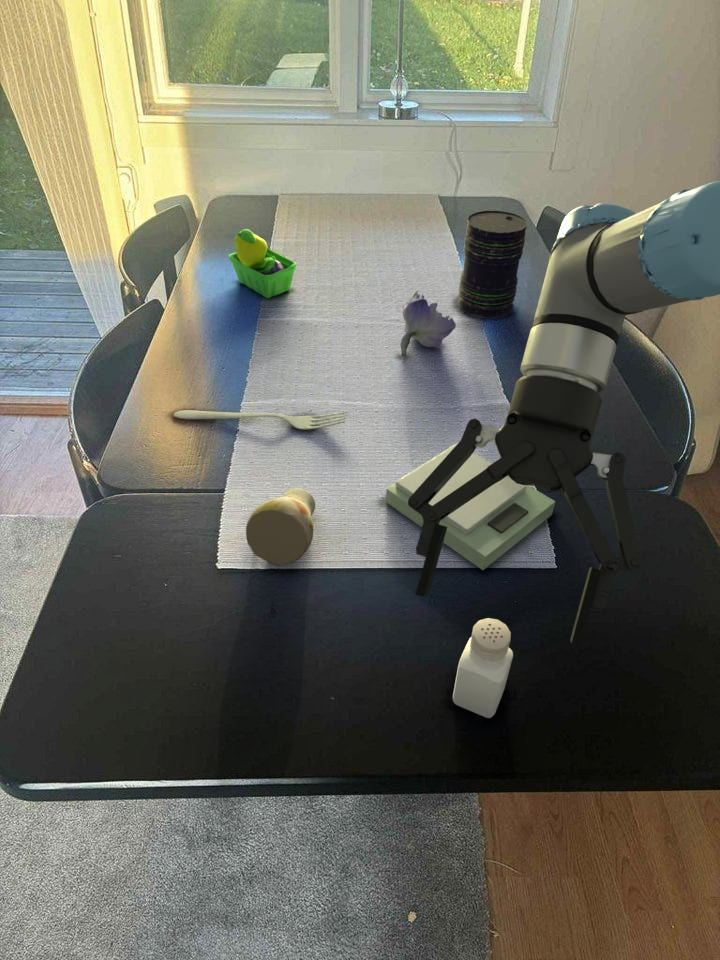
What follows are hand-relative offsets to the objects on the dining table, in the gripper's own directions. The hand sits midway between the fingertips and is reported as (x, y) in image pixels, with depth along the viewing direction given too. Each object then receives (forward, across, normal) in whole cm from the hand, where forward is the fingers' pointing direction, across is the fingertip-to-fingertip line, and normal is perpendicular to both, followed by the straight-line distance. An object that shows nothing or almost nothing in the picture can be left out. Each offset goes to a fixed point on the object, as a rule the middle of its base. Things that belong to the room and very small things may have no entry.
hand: (496, 618), depth 61 cm
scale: (-10, +7, -21) cm, 24 cm away
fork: (-14, +39, -26) cm, 48 cm away
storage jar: (-46, +18, -59) cm, 77 cm away
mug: (0, +25, -12) cm, 28 cm away
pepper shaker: (+8, 0, -4) cm, 9 cm away
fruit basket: (-40, +58, -52) cm, 87 cm away
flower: (-34, +25, -46) cm, 62 cm away
